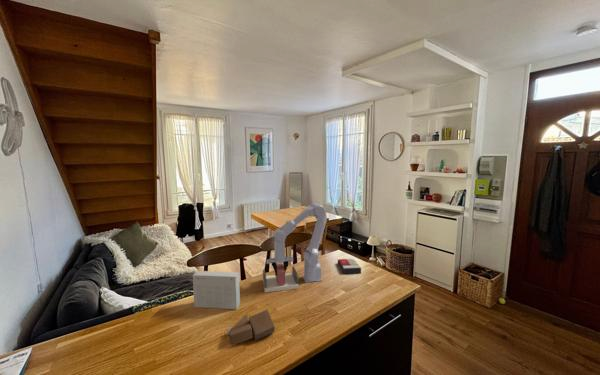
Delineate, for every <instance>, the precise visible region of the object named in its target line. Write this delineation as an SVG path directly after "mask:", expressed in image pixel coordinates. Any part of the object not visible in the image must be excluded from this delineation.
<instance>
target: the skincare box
mask: <svg viewBox="0 0 600 375" xmlns="http://www.w3.org/2000/svg"><path fill="white" fill-rule="evenodd" d="M192 283H193V284H192V285H193V286H192V289H193V290H192V292H193V308H203V309H206V308H207V309H219V310H220V309H221V310H222V309H223V310H224V309H225V310H226V309H227V310H237V309H238V308H239V307H240V306H241V305H240V304H241V293H240V292H241V291H240V272H238V271H237V272H235V271H234V272H233V271H211V270H210V271H209V270H197V271H195V273H194V274H192Z"/></svg>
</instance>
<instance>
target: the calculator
mask: <svg viewBox="0 0 600 375" xmlns="http://www.w3.org/2000/svg"><path fill="white" fill-rule="evenodd" d="M337 265H338V267H339V268H340V270H341V273H342V274H343V275H355V274H356V275H357V274H358V275H360V274H362V268H361V266H360V265H359V263H357V261H356V260H355V259H354V258H342V259H341V258H339V259H337Z"/></svg>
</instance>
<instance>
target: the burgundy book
mask: <svg viewBox="0 0 600 375" xmlns="http://www.w3.org/2000/svg"><path fill="white" fill-rule="evenodd" d="M276 265H277V276H276V279H277V283H278V285H282V284H285V274H286V272H285V270H284V266H283V263H276Z"/></svg>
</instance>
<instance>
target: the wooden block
mask: <svg viewBox="0 0 600 375" xmlns="http://www.w3.org/2000/svg"><path fill="white" fill-rule="evenodd" d="M226 332H227V336H229V337H230V342H231V346H235V345H237V344H241V343H244V342H246V341H249V340H251V339H253V338H254V340H255V341H258V340H260V339H262V338H264V337H266V336H269V335H271V334H273V333H274V332H275V324H274V322H273V319H272V317H271V314H270V312H269V310H268V309H264V310H262V311H261V312H258V313H255V314H253V315H250V316H249V317H248V314H245V315H244V316H243V317H242V318H240V320H239V321H237V322H236V323H235V324H234V325H233V326H232V327H230V328H227V331H226Z"/></svg>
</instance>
